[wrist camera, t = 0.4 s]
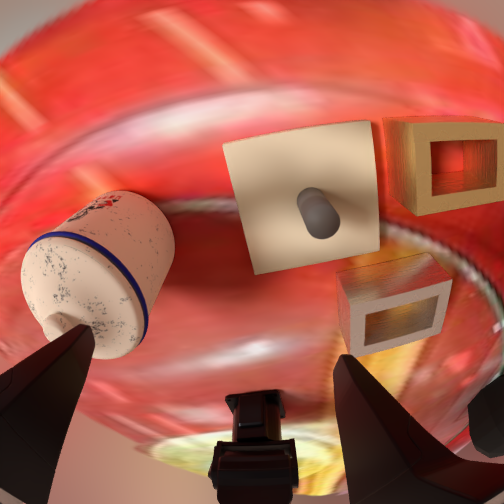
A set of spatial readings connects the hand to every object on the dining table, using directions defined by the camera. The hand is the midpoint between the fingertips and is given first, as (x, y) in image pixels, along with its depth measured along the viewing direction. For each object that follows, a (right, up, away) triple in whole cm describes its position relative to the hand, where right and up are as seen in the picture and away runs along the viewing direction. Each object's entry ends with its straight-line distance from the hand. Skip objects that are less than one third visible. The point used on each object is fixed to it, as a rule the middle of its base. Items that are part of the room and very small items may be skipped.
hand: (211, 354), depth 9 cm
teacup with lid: (-10, +4, +14) cm, 17 cm away
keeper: (+5, +7, +11) cm, 15 cm away
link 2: (+13, 0, +15) cm, 20 cm away
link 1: (+16, +11, +9) cm, 21 cm away
